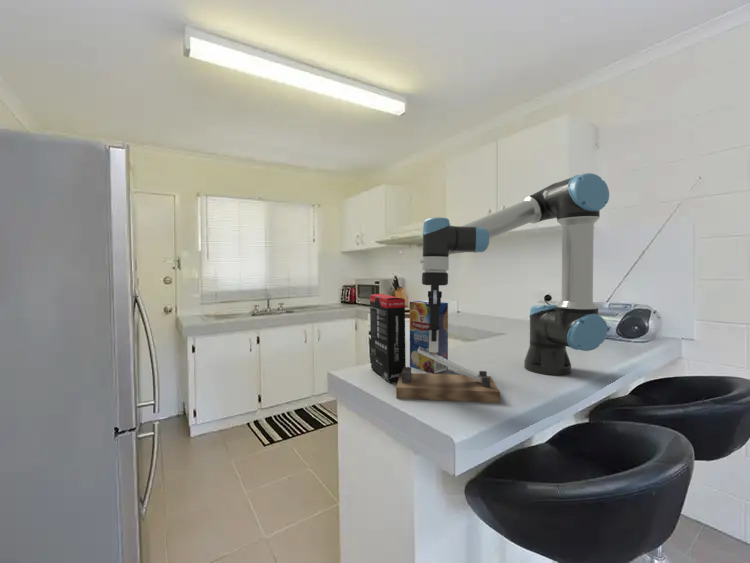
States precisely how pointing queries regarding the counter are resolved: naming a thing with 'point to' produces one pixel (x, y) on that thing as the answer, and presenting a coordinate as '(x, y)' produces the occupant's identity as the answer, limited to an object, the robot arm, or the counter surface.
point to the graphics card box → (387, 335)
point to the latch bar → (450, 364)
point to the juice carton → (427, 336)
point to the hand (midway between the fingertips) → (433, 351)
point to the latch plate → (446, 387)
